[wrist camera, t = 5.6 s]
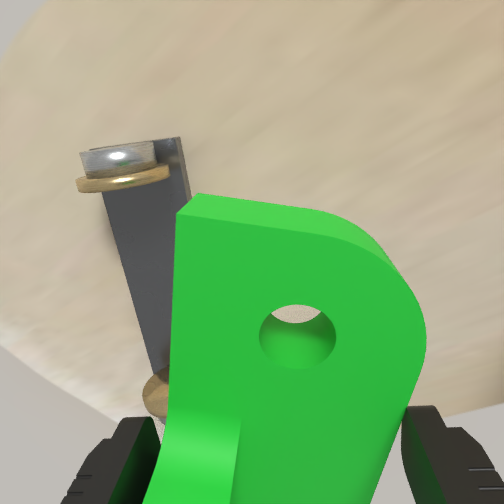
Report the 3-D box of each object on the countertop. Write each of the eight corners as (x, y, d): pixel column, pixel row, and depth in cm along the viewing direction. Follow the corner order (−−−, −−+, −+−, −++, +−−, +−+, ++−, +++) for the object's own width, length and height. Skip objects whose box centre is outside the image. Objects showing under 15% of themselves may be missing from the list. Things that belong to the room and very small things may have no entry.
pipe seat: (179, 136, 23) (149, 144, 17) (225, 372, 30) (214, 432, 24) (98, 147, 23) (43, 158, 18) (161, 376, 30) (135, 435, 25)
